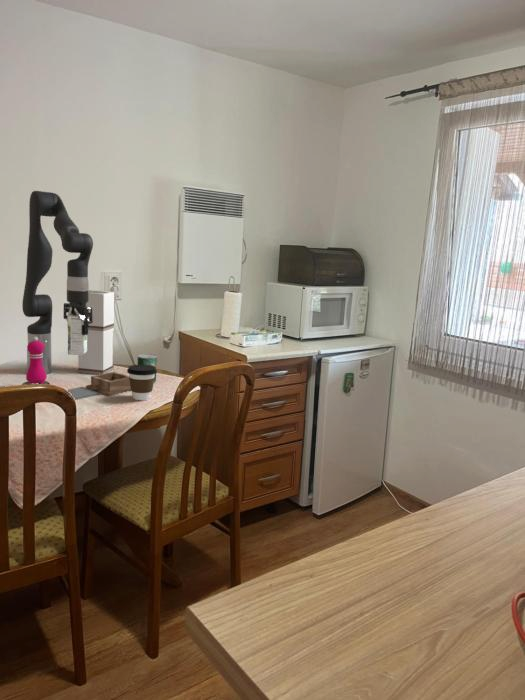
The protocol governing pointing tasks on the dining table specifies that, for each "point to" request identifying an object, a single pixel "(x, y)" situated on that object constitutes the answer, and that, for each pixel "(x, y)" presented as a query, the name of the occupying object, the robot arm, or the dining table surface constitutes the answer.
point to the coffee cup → (141, 381)
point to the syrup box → (76, 337)
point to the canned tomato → (148, 360)
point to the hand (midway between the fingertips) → (77, 333)
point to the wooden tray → (110, 383)
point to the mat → (82, 392)
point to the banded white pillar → (99, 335)
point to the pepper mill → (35, 362)
